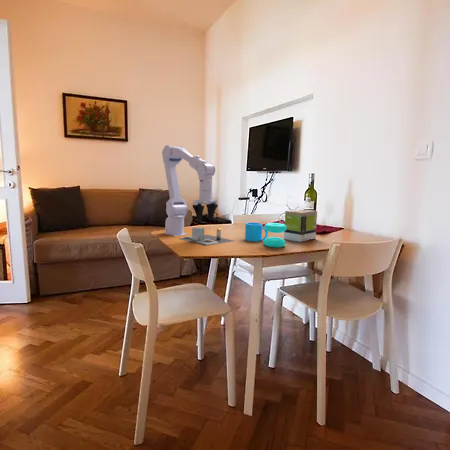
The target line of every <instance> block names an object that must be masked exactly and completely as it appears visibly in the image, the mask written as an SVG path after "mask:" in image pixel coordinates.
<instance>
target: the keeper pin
mask: <svg viewBox="0 0 450 450" xmlns="http://www.w3.org/2000/svg"><path fill="white" fill-rule="evenodd" d="M216 237H217V238H216V240H221V238H222V229H221V228H216Z"/></svg>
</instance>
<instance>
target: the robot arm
mask: <svg viewBox="0 0 450 450" xmlns="http://www.w3.org/2000/svg"><path fill="white" fill-rule="evenodd" d="M161 154H162V161H163V164H164V171H165V177H166V182H167V189H168V195H169V199H168V200H167V201H166V203H165V205H166V208H165V212H166V215H167V216H168V217H166V218H165V223H164V224H165V229H164V230H165V232H163V234H164V235H170V236H172V237H178V236H185V235H187V236H188V233H185V232H184V231H185V230H184V229H185V218H186V215H188V211H189V210H188V206H187V203H186V200H185V199H184V198H182V196H181V191H180V186H179V185H180V184H179V179H178V173H177V169H176V168H177V167H176V166H177V165H179V164H180V163H181V161H182V160H184V161H186V162H187V163H188V165H189V167H190V168H192V169H193V170H195V171H196V173H197V176H198V180H199V187H198V188H199V195H198V197H199V198H198V199H195V200H193V201H192V209H193V210H194V213H195V215H196V216H195V217H196V220H197V221H198V222H202V221H203V212H204V210H205V205H206V208H207V218H208V219H207V220H211V221H212V220H213V219H214V216H215V212H216V210H217V208H218V205H219V204H218V199H215V198H214V199H212V198H213V176H215V173H216V166H214V164H213V163H208V162H207V161H206V160H205V159H204V160H203V159H202V158H201V156H200V155H192V154H191V153H190V152H189V151H187V149H186V148H185V147H183V146H175V145H169V144H167V145H164V147H163V149H162V151H161Z"/></svg>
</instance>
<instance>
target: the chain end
mask: <svg viewBox="0 0 450 450" xmlns="http://www.w3.org/2000/svg"><path fill="white" fill-rule="evenodd" d="M204 235H205V227H201V226H196V227H192V228H191V235H187V236H183V238H184V239H191V240H192V241H196V243H199V244H198V245H200V244H203V245H202V246H204V245H208V246H212V244H214V245H218V242H217V241H213V240H209V239H206V240H204ZM206 242H209V243H206ZM196 243H195V244H196Z"/></svg>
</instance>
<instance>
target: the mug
mask: <svg viewBox="0 0 450 450" xmlns="http://www.w3.org/2000/svg"><path fill="white" fill-rule="evenodd" d="M244 226H245V228H244V240H245V241H247V242H262V241H264V240H265V239H266V238H268V237H269V236H268V231H266V230H265V228H264V226H263V224H262V223H260V222H246V223H245V225H244ZM263 231H264V233H265V236H264V238H263V237H262V235H263Z"/></svg>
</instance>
